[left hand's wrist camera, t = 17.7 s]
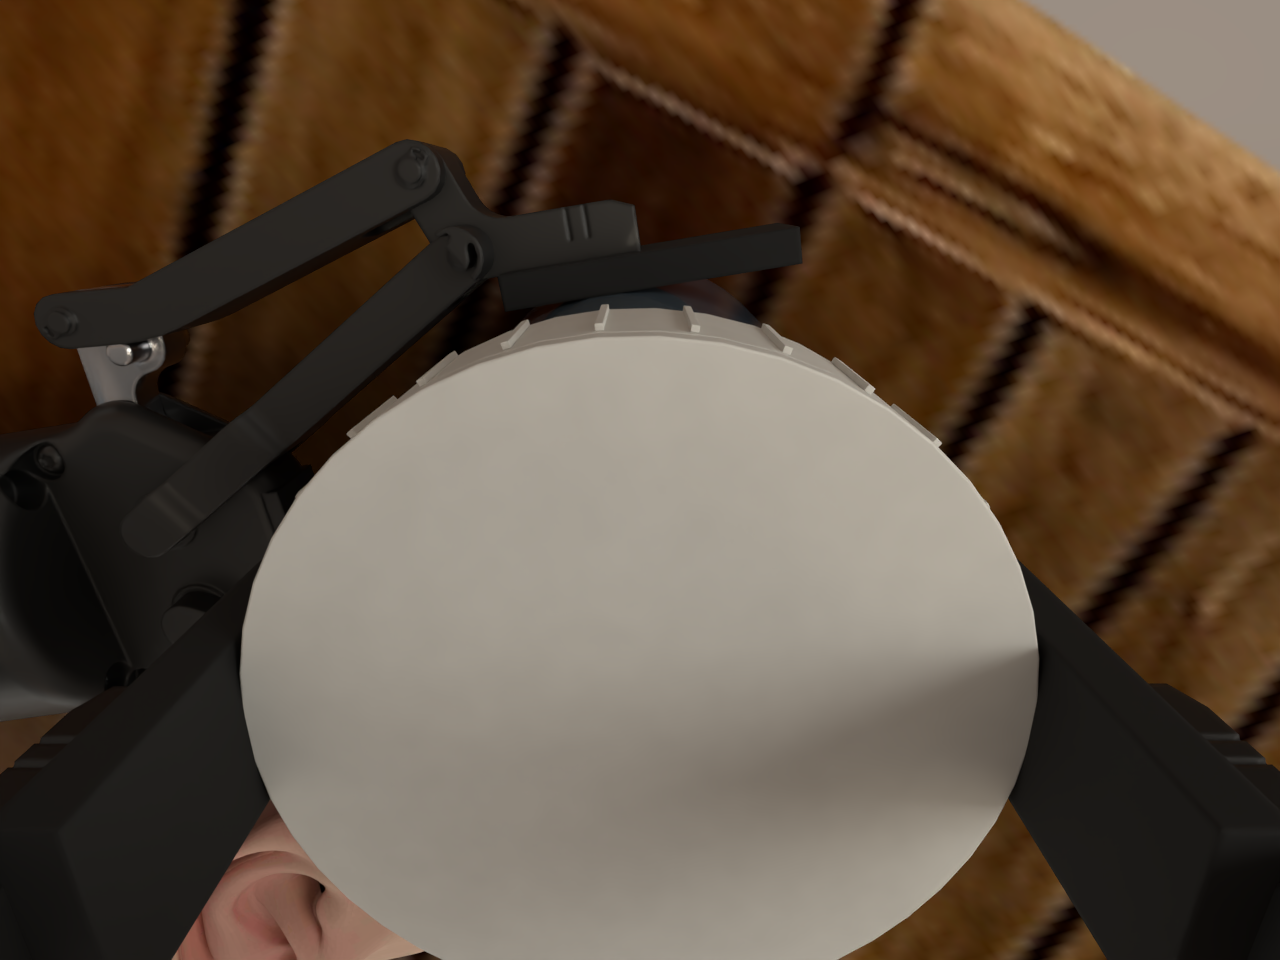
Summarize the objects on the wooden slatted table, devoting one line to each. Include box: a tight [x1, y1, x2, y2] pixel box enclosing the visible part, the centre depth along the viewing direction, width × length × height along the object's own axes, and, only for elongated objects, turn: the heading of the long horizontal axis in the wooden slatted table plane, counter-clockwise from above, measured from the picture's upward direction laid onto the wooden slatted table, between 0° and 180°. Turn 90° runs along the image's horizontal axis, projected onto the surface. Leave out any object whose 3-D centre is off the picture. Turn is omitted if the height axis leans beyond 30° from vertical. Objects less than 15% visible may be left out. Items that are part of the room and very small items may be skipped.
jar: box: [512, 279, 762, 330], centre depth 18 cm, size 10×10×16 cm
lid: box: [239, 304, 1039, 960], centre depth 11 cm, size 11×11×2 cm
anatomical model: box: [172, 799, 424, 960], centre depth 30 cm, size 13×4×12 cm
